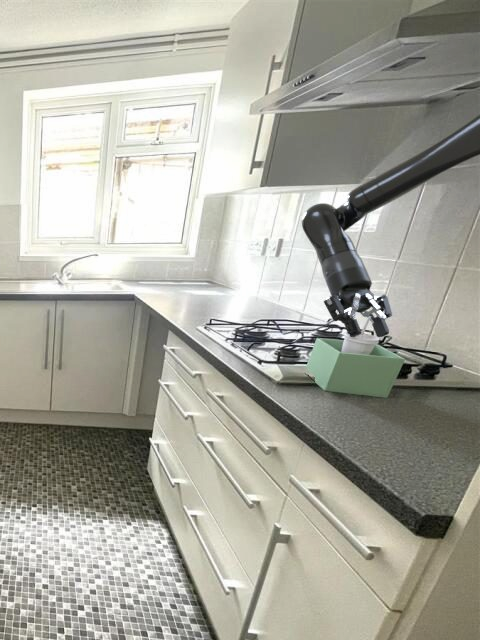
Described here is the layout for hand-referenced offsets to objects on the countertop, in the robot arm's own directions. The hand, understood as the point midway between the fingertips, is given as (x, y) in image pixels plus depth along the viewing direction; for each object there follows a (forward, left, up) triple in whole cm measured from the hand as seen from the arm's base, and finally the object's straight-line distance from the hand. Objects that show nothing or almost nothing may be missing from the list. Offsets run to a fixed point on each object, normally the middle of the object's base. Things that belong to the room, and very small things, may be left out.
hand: (369, 335), depth 96 cm
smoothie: (+1, -2, -10) cm, 11 cm away
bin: (+1, -1, -13) cm, 13 cm away
